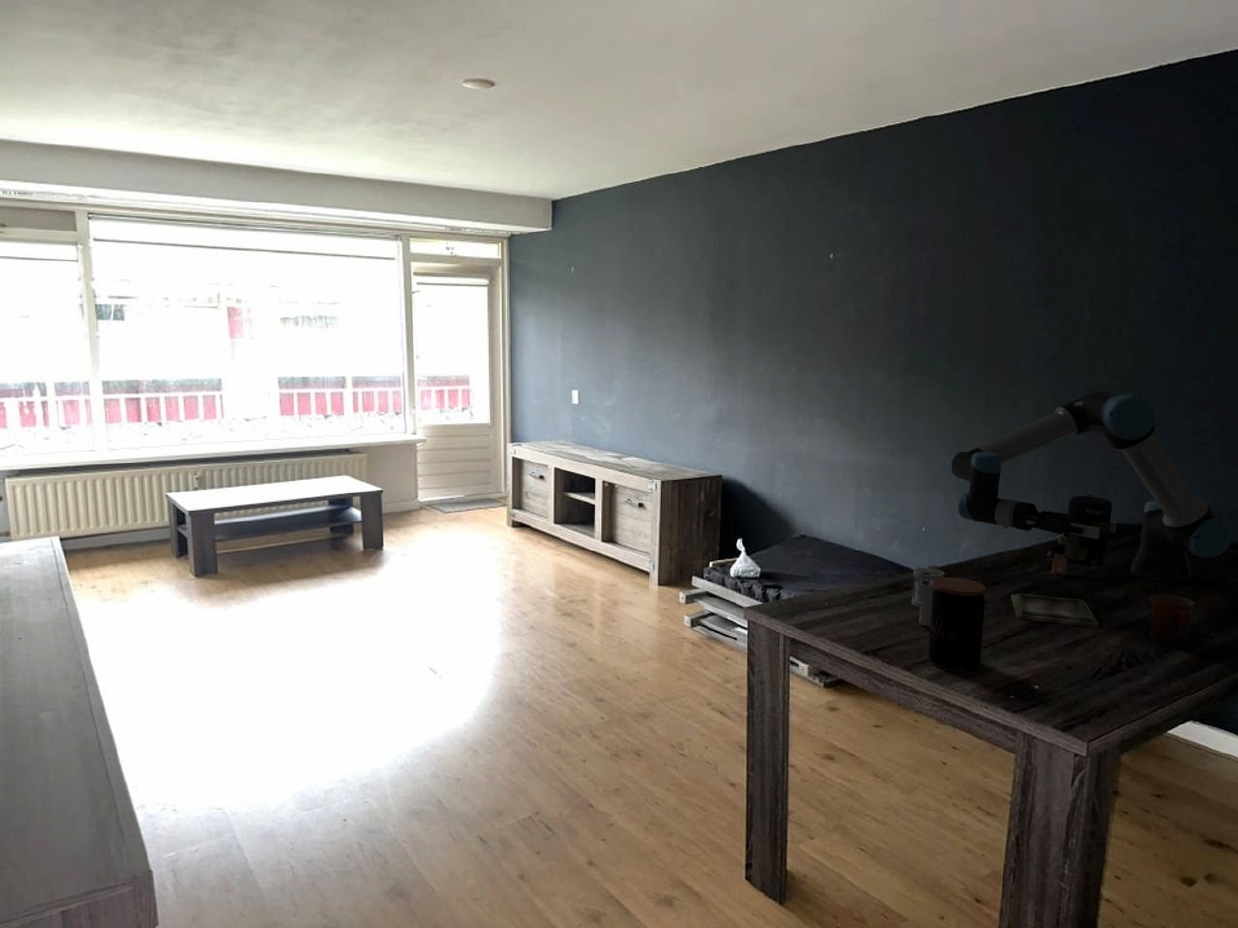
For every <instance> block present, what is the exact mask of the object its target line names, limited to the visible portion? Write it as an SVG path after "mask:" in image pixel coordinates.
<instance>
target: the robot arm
mask: <svg viewBox="0 0 1238 928" xmlns="http://www.w3.org/2000/svg"><path fill="white" fill-rule="evenodd" d="M1154 419H1156V415H1155V411H1154V408H1153V407H1152V406H1151V404H1150V403H1149V402H1148V401H1146V400H1145V399H1143V398H1142V397H1139V396H1136V395H1134V394H1129V393H1115V392H1108V391H1107V392H1106V391H1096V392H1092V393H1089V394H1086V395H1083V396H1081V397H1078V398H1075V399H1074V400H1072V401H1069V402H1067V403H1065V404H1062V405H1060V406H1058V407H1057V408H1056V409H1055V412H1053V413H1052V414H1049V415H1047V416H1044V417H1043V418H1040V419H1038V420H1036V421H1034V422H1032V423H1029V424H1027V425H1025V426H1023V427H1020V428H1018V429H1016V430H1014V431H1011V432H1009V433H1007V434H1005V435H1003V436H1000V437H998V438H995V439H994V440H992V441H988V442H987V443H984V444H983V445H981V446H978V447H976V448H973V449H971V450H968V451H957V452H954V453H952V455H950V457H949V459H948V461H947V467H948V468H947V469H948V470H949V472H950V473H951V474H952V475H954V476H955V477H956V478H958V479H962V480H965V481H966V482H969V490H968V492H965V493H963V494H962V495H961V496H960V498H959V502H958V504H957V510H958V515H960V517H961V518H963V519H965V520H969V521H974V522H978V523H984V524H990V525H995V526H1001V527H1002V528H1003V529H1004V530H1005V529H1008V528H1012V529H1013V528H1015V529H1016V530H1022V531H1027V532H1029V531H1031V530H1033V528H1034V529H1039V530H1042V531H1047V532H1050V533H1053V534H1058V535H1059V534H1063V533H1064V536H1066V537H1068V536H1069V532H1070V534H1073V535H1078V536H1083V537H1089V538H1094V539H1099V532H1100V528H1097V527H1091V526H1085V525H1080V524H1074V523H1071V526H1070V524H1068V523H1067V519H1068V513H1064V512H1057V511H1052V510H1047V511H1046V510H1041V511H1038V509H1037V506H1036V504H1034V503H1032V502H1026V501H1019V500H1015V499H1009V498H1008V499H1007V498H1000V497H999V492H1000V490H999V489H1000V481H1001V480H1000V478H1001V471H1002V465H1004V464H1007V463H1009V462H1011V461H1014V460H1016V459H1018V458H1020V457H1022V456H1024V455H1025V456H1026V455H1027V454H1029V453H1031V452H1034V451H1036V450H1038V449H1040V448H1042V447H1046V446H1047V445H1049V444H1052V443H1055V442H1057V441H1059V440H1062V439H1063V438H1066V437H1070V438H1074V437H1077V436H1079V435H1082V434H1086V433H1098V434H1102V435H1103V437H1104V438H1105V439H1106V440H1107V442H1108V443H1109V445H1110V446H1111V447H1112V448H1113V450H1116V451H1121V452H1122V453H1123V454H1124V456H1125V457H1126V459H1127V460H1128V463H1130V465H1131V467H1133V469H1134V471H1135V472H1136V474H1137V475H1138V477H1139V479H1140V480H1141V481H1142V483H1143V484H1144V485H1145V488H1146V489H1147V490H1148V491H1149V493H1150V494H1151V496H1152V497H1153V499H1154V500H1150V501H1147V502H1146V503H1145V505H1144V509H1143V512H1142V514H1143V517H1142V526H1141V527H1142V529H1141V534H1140V535H1141V538H1140V546H1139V549H1138V551H1137V554H1136V555H1135V557H1134V559H1133V561H1132V562H1131V567H1130V573H1131V574H1132V575H1134V576H1136V577H1139V578H1142V579H1146V580H1150V581H1156V582H1162V583H1173V584H1174V583H1176V584H1180V583H1181V584H1183V583H1188V582H1190V581H1191V579H1192V571H1191V567H1190V564H1189V559H1188V557H1187V556H1188V555H1187V553H1189V554H1192V555H1193V556H1195V557H1202V558H1205V559H1210V558H1212V559H1213V558H1216V557H1218V556H1220V555H1222V554H1223V553H1225V551H1226V550H1228V548H1229V547H1230V545H1231V541H1232V540H1233V536H1234V535H1233V534H1234V531H1233V528H1232V526H1231V525H1230V523H1229V522H1228V521H1227V520H1225V519H1224V518H1221V517H1217V516H1216V515H1215V513H1214V512H1213V511H1212V509H1211V507H1210V506H1209V505H1208V503H1207V502H1206V501H1203V500H1201V499H1197V498H1196V496H1195V495H1194V493H1193V492H1192V490H1191V489H1190V487H1189V485H1187V483H1186V482H1185V480H1184V479H1183V477H1182V476H1181V474H1180V472H1179V471H1178V469H1177V468H1176V467H1175V465H1174V463H1173V461H1172V460H1171V459H1170V458H1169V456H1168V454H1167V453H1166V452H1165V450H1164V448H1163V447H1162V445H1161V444H1160V442H1159V441H1158V439H1157V437H1155V433H1156V431H1157V427H1156V425H1155V421H1154ZM1115 533H1116V522H1115V521H1110V532H1109V534H1115Z"/></svg>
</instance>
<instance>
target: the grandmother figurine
mask: <svg viewBox="0 0 1238 928" xmlns="http://www.w3.org/2000/svg"><path fill="white" fill-rule="evenodd" d="M1056 537H1057V539H1056V540H1057V541H1058V544H1055V545H1053V546H1052V547H1051V548H1050V549H1049V550H1048V553H1047V554H1046V556H1047V557H1051V556H1052V554H1053V553H1054V557H1053V560H1052V567H1051V570H1052V571H1050V574H1051V575H1056V576H1057V575H1058V574H1059V575H1061V576H1067V569H1068V568H1067V567H1068V561H1067V560H1066V559H1065V558H1064V550H1065V540H1066V536H1064V533H1063V534H1058V535H1057V536H1056Z"/></svg>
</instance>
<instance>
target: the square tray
mask: <svg viewBox="0 0 1238 928" xmlns="http://www.w3.org/2000/svg"><path fill="white" fill-rule="evenodd" d="M1015 593H1016V594H1011V601H1012V605H1013V607H1014V611H1015V615H1016V619H1018V620H1026V621H1037V622H1043V623H1051V624H1052V623H1053V624H1062V625H1070V626H1079V627H1088V628H1094V629H1095V628H1096V629H1098V628H1099V623H1098V621H1097V620H1096V617H1095V616H1094V613H1093V612H1092V611H1091V609H1090V607H1089V606H1088V604H1087V602H1086V601H1084V600H1083V599H1076V598H1066V597H1058V596H1048V595H1039V594H1028V593H1020V592H1015Z"/></svg>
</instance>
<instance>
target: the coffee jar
mask: <svg viewBox="0 0 1238 928" xmlns="http://www.w3.org/2000/svg"><path fill="white" fill-rule="evenodd" d="M933 587H934V588H935V590H934V591H933V595H932V609H931V624H930V627H929V638H928V639H929V640H928V641H929V642H928V654H927V655H928V658H929V659H930V661H931V660H932V661H931V663H932V662H933V663H935V664H936V665H939V666H941V667H943V668H947V669H952V670H962V671H965V672H968V671H967V670H972V669H974V670H976V669H977V668H978V666H979V665H980V664H981V658H982V657H981V655H982V645H983V643H982V642H983V632H984V631H983V630H984V618H985V617H984V616H985V607H986V605H985V604H986V599H985V596H984V594H985V593H986V591H987V589H986V586H985V585H984V584H983V583H981V582H980V581H979V582H978V581H975V580H972V579H969V578H963V577H948V576H946V577H944V578H939V579H936V580H933ZM933 663H932V664H933ZM935 664H934V665H935ZM936 665H935V666H936ZM941 667H940V668H941ZM943 668H942V669H943ZM947 669H946V670H947ZM972 671H973V670H972Z"/></svg>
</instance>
